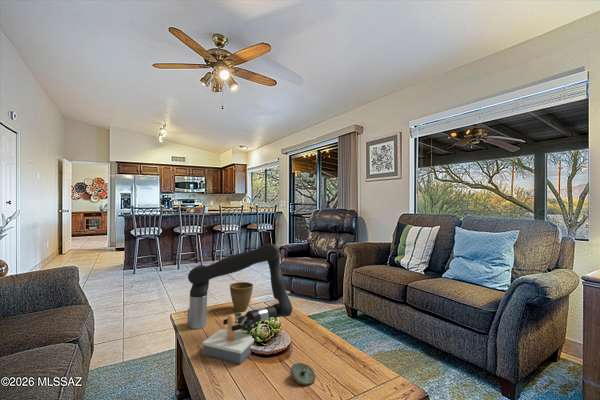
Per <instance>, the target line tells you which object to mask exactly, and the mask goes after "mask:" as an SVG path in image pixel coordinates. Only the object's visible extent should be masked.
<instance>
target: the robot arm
mask: <svg viewBox="0 0 600 400" xmlns="http://www.w3.org/2000/svg"><path fill="white" fill-rule="evenodd" d="M280 261H281V260H280V249H279V247H278V245H276V244H274V243H266V244H265V245H262V246H260V247H258V248H256V249H253V250H250V251H244V252H240V253H239V252H238V253H236V254H233V255H229V256H226V257H225V258H222V259H219V260H218V261H216V262H214V263H211V264H209V265H203V264H198V265H197V266H195V267H194V268H192V269H191V270H190V271H189V272H188V275H187V279H188V281H189V282H190V283H191V284H192V285H191V289H190V290H189V306H188V307H189V308H188V309H187V321H186V326H187V327H188V328H190V329H192V330H198V329H203V328H205V327H206V326H207V313H208V312H207V311H208V307H207V306H208V290H209V287H210V285H209V284H210V280H212V279H215V278H218V277H222V276H226V275H230V274H233V273H237V272H240V271H243V270H245V269H247V268H249V267H251V266H253V265H255V264H259V263H263V262H267V264H268V268H269V271H270V272H269V274H270V284H271V290H272V295H273V298H274V300H276V301H278V303H274V304H272V305H269V306H265V307H260V308H255V309H252V310H248V311H247V312H246V313H245V315H244V314H242V313H241V312H239V313H235V314H234V313H233V314H234V315H235V325H234V326H232V331H234V332H237V331H239V330H241V331H242V330H243V332H244V331H245V332H246V331H248V330H251V329H254V328H255V326H254V324H255V323H256V322H258V321H263V320H265V319H267V318H270V317H274V318H275V319H277V318H280V317H281V318H282V317H283V318H284V317H286V318H287V317H290V315H292V312H293V306H292V305H293V304H292V303H291V300H290V298H289V296H288V294H287V291H286V286H285V282H284V278H283V274H282V273H283V272H282V268H281V262H280ZM222 323H223V325H224V326H225V325H228V318H225V319H223V320H222Z"/></svg>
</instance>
